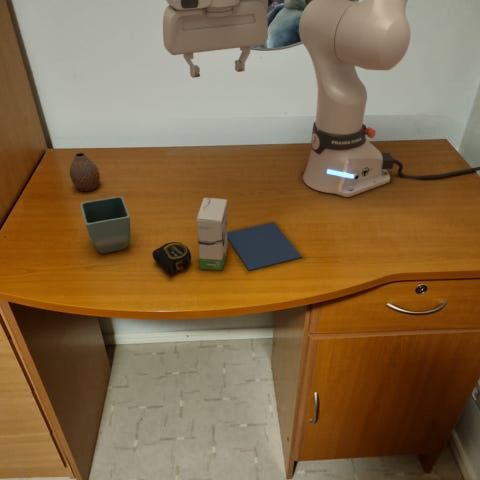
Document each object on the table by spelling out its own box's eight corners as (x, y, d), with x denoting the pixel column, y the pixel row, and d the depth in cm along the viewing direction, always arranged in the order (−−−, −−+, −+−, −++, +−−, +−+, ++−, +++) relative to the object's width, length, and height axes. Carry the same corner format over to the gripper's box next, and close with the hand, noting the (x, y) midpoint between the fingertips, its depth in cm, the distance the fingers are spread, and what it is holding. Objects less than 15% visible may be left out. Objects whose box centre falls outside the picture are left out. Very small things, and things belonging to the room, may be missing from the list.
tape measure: (152, 262, 100) (149, 247, 97) (181, 251, 102) (179, 236, 100) (168, 280, 96) (165, 265, 93) (197, 267, 98) (196, 253, 96)
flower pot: (128, 230, 108) (122, 194, 102) (136, 252, 102) (130, 216, 96) (89, 238, 106) (79, 202, 99) (94, 261, 100) (85, 224, 94)
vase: (68, 191, 120) (59, 158, 114) (84, 178, 125) (76, 146, 119) (91, 196, 118) (83, 163, 112) (107, 183, 123) (100, 150, 117)
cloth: (273, 223, 110) (273, 221, 110) (301, 258, 101) (301, 256, 101) (224, 234, 107) (224, 233, 107) (248, 271, 98) (248, 269, 97)
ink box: (222, 271, 98) (221, 221, 89) (198, 269, 98) (195, 219, 90) (228, 246, 104) (227, 197, 95) (205, 244, 104) (203, 195, 96)
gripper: (261, -17, 91) (259, 62, 101) (156, -9, 86) (164, 74, 96) (275, -10, 87) (271, 72, 97) (165, -1, 82) (173, 85, 91)
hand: (217, 73), depth 96 cm, fingers open, 8 cm apart
